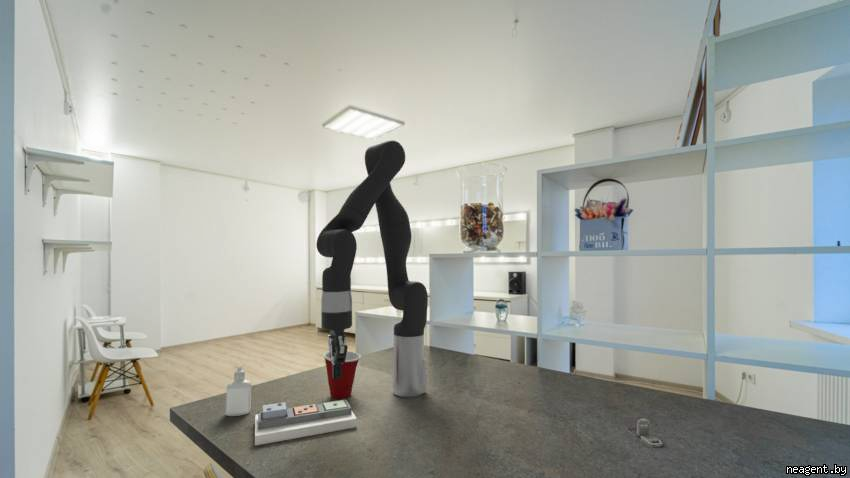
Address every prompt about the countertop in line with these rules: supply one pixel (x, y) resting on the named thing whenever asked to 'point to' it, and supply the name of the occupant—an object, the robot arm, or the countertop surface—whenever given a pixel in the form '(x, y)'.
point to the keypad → (302, 424)
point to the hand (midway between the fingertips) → (337, 378)
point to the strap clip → (645, 434)
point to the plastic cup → (344, 385)
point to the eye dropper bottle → (238, 395)
